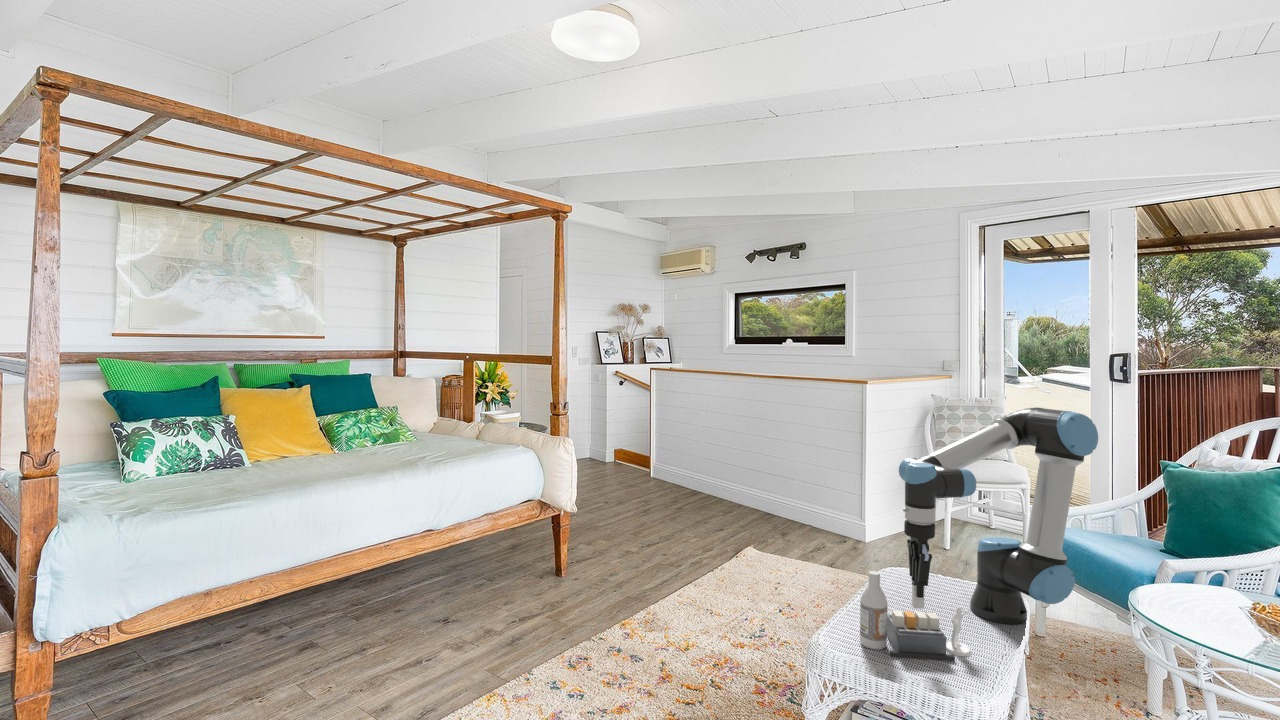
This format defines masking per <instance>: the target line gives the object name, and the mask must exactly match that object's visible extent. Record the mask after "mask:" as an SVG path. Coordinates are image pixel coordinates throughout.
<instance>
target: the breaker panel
mask: <svg viewBox="0 0 1280 720" xmlns="http://www.w3.org/2000/svg"><path fill="white" fill-rule="evenodd" d="M887 640H888V641H889V643H890V644H891V646H892V647H893V651H898V652H906V653H920V654H935V655H946V654H947V651H946V642H947V636H946V634H945V633H944V631H942V629H941V628H940V627H939V630H938V629H930V628H929V626H928V625H927V629H922V628H918V626H917V625H916V628H907V626H906V625H905V623H904V627H895V625H894V623H893V622H892V613H887Z"/></svg>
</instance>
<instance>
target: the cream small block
mask: <svg viewBox="0 0 1280 720" xmlns="http://www.w3.org/2000/svg"><path fill="white" fill-rule="evenodd" d="M891 614H892V622H893V623H894V625H895V627H904V613H902V611H901V610H892V612H891Z"/></svg>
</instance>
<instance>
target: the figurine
mask: <svg viewBox="0 0 1280 720" xmlns="http://www.w3.org/2000/svg"><path fill="white" fill-rule="evenodd" d="M951 611H952V612H955V613H954V614H953V616H952V619H951V623H952V625H953V626H952V627H953V629H952V634H951V640H950V641H946V653H947V654H952V655H954V656H957V657H970V656H972V655H973V652H972V649H971V648H970V647H969V646H968V645H967V644H965V643H962V642H959V636H960V633H961V630H962V621H963V616H965V615H967V614H969V613H970V611H969V610H967V609H965V610H962V607H961V606H957V607H956V609H955V610H954V609H953V610H951Z"/></svg>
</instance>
